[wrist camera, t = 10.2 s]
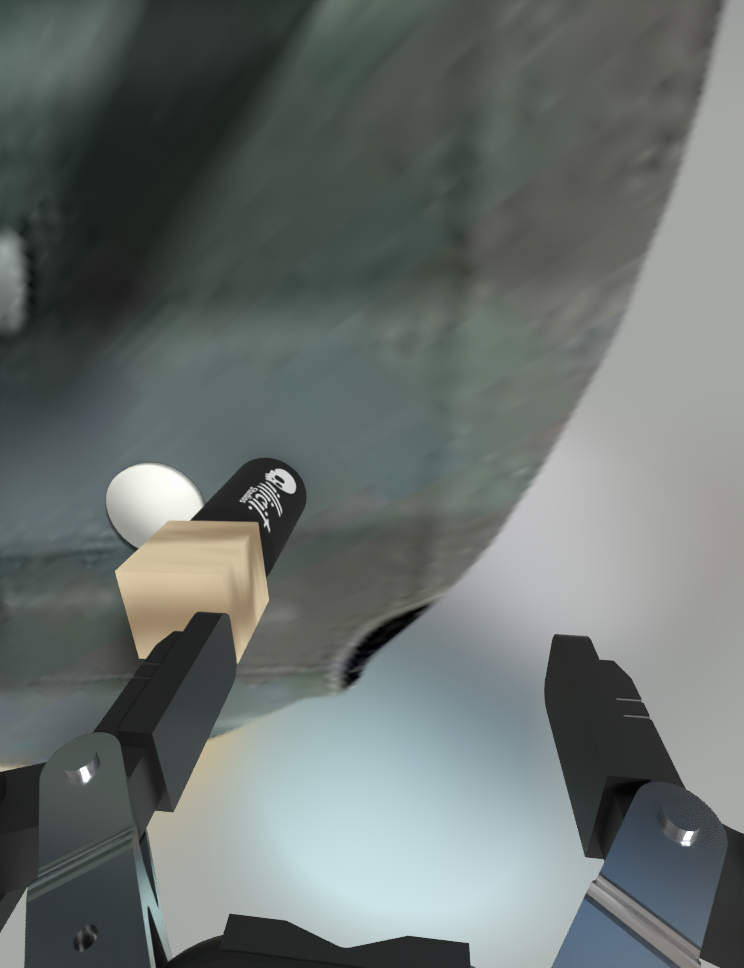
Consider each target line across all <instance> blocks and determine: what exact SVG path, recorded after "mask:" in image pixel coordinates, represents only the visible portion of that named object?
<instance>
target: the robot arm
mask: <svg viewBox="0 0 744 968" xmlns="http://www.w3.org/2000/svg"><path fill="white" fill-rule="evenodd" d="M236 669H237V658H236V652H235V645H234V639H233V633H232V626H231V620H230V617H229V615H228V614H227V613H216V612H200V611H199V612H196V613H195V614H194V616H193V617H192V618H191V620H190V621H189V623H188V624H187V626H186V627H185V629H184V630H183V631H173V632H172V633H171V634H169V635H168V636H167V637H165V638H164V639H163V640H161V641H160V642H159V643H158V644H156V645H155V647H154V648H153V650H152V651H151V652H150V654H149V655H148V656H147V658H146V659H145V661H144V664H143V665H141V666H140V668H139V669H138V670H137V672H136V673H135V675H134V678H133V679H131V680H130V682H129V683H128V684H127V686H126V687H125V689H124V690H123V691H122V693H121V694H120V696H119V697H118V698H117V700H116V701H115V703H114V704H113V705H112V707H111V708H110V710H109V711H108V712H107V714H106V715H105V717H104V718H103V719H102V721H101V722H100V724H99V725H98V726H97V728H96V729H95V730H94V732H93V733H90V734H86V735H83V736H80V737H78V738H76V739H73V740H72V741H70V742H68V743H67V744H65V745H64V746H62V747H61V748H60V749H59V750H57V751H56V752H55V753H54V754H53V755H52V756H51V757H50V759H49V760H48V761H47V762H45V763H41V764H36V765H32V766H27V767H22V768H17V769H12V770H7V771H3V772H0V932H1V930H2V929H3V927H4V925H5V924H6V922H7V920H8V918H9V917H10V915H11V913H12V912H13V910H14V908H15V907H16V904H17V903H18V902H19V900H20V898H21V897H22V895H23V893H24V891H25V890H26V888H27V887H28V890H27V899H26V928H25V962H24V968H475V967H473V966H471V965H470V952H469V943H462V942H453V941H446V940H438V939H430V938H422V937H413V936H405V937H400V938H395V939H390V940H385V941H380V942H375V943H371V944H365V945H361V946H356V947H351V948H343V947H339V946H337V945H335V944H333V943H331V942H329V941H327V940H324V939H322V938H320V937H318V936H316V935H314V934H312V933H310V932H308V931H306V930H304V929H302V928H300V927H298V926H296V925H294V924H292V923H290V922H288V921H284V920H276V919H268V918H260V917H252V916H244V915H236V914H229V917H228V921H227V924H226V927H225V930H224V934H223V935H221V936H217V937H213V938H211V939H208V940H205V941H202V942H200V943H198V944H196V945H194V946H192V947H190V948H188V949H187V950H185V951H183V952H182V953H180V954H179V955H177V956H176V957H174V958H173V957H172V953H171V948H170V944H169V940H168V937H167V932H166V928H165V924H164V919H163V914H162V908H161V904H160V897H159V892H158V887H157V881H156V875H155V870H154V864H153V859H152V853H151V848H150V843H149V837H148V832H147V829H146V827H147V825H148V823H149V821H150V819H151V817H152V815H153V813H154V811H155V810H156V811H165V812H174V810H175V808H176V806H177V803H178V801H179V799H180V797H181V795H182V793H183V791H184V789H185V786H186V784H187V782H188V780H189V778H190V775H191V773H192V771H193V769H194V767H195V765H196V763H197V761H198V758H199V756H200V754H201V752H202V750H203V747H204V746H205V743H206V741H207V739H208V737H209V735H210V733H211V731H212V728H213V726H214V724H215V722H216V720H217V718H218V715H219V713H220V711H221V709H222V707H223V705H224V703H225V700H226V698H227V696H228V694H229V692H230V690H231V688H232V685H233V683H234V679H235V675H236ZM544 692H545V693H544V694H545V705H546V710H547V714H548V718H549V722H550V726H551V729H552V733H553V737H554V741H555V744H556V748H557V752H558V756H559V760H560V763H561V767H562V771H563V775H564V779H565V782H566V786H567V790H568V794H569V798H570V801H571V805H572V809H573V813H574V817H575V820H576V824H577V828H578V831H579V835H580V839H581V843H582V847H583V851H584V854H585V857H588V858H598V859H604V864H603V866H602V868H601V871H600V873H599V875H598V877H597V879H596V880H595V881H593V882H592V883H591V885H590V887H589V888H588V890H587V892H586V894H585V897H584V899H583V901H582V903H581V905H580V907H579V909H578V912H577V914H576V916H575V918H574V920H573V922H572V924H571V927H570V929H569V931H568V933H567V935H566V937H565V939H564V942H563V944H562V946H561V948H560V950H559V952H558V954H557V957H556V959H555V961H554V963H553V965H552V967H551V968H701V963H700V961H699V958H701V959H703V960H705V961H707V962H709V963H712V964H713V965H716V966H718V967H720V968H744V834H743V833H740V832H738V831H736V830H733V829H731V828H729V827H728V826H725V825H724V824H722V823H721V821H720V820H719V818H718V817H717V815H716V814H715V813H714V812H713V810H712V809H711V808H710V807H709V806H708V805H707V804H706V803H705V802H704V801H702V800H701V799H700V798H699V797H697V796H696V795H694V794H693V793H691V792H690V791H688V790H686V788H685V786H684V785H683V783H682V781H681V779H680V777H679V775H678V773H677V771H676V769H675V767H674V765H673V762H672V760H671V758H670V757H669V754H668V753H667V750H666V748H665V746H664V744H663V742H662V740H661V738H660V736H659V734H658V732H657V730H656V728H655V726H654V724H653V722H652V720H650V718H649V713H648V711H647V709H646V707H645V705H644V703H642V702H641V697H640V695H639V693H638V691H637V689H636V687H635V685H634V683H633V681H632V679H631V678H630V677H629V676H628V675H627V674H626V673H625V672H624V671H623V670H622V669H621V668H620V667H619V666H618V665H617V664H616V663H615V662H614V661H610V660H599V657H598V655H597V653H596V651H595V648H594V646H593V644H592V641H591V639H590V638H589V637H587V636H575V635H559V634H555V635H554V637H553V639H552V644H551V650H550V656H549V662H548V667H547V673H546V678H545V687H544Z"/></svg>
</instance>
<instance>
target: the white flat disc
mask: <svg viewBox="0 0 744 968" xmlns="http://www.w3.org/2000/svg"><path fill="white" fill-rule="evenodd" d="M204 505H205V504H204V501H203V498H202V496H201V494H200V492H199V491H198V489H197V488H196V486H195V485H194V484H193V483H192V482H191V481H190V480H189V479H188V478H187V477H186V476H185V475H183V474H182V473H181V472H179V471H177V470H176V469H174V468H172V467H169V466H167V465H164V464H159V463H152V462H146V463H139V464H135V465H133V466H131V467H129V468H127V469H125V470H124V471H122V472H121V473H120V474H118V475H117V476H116V477H115V478H114V479H113V480H112V482H111V484H110V486H109V488H108V491H107V496H106V506H107V511H108V514H109V517H110V519H111V521H112V523H113V525H114V527H115V528H116V530H117V531H118V532H119V533H120V534H121V535H122V537H123V538H125V539H126V540H127V541H128V542H129V543H131V544H132V545H134V546H135V547H137V548H140V547H141V546H142V545H143V544H144V543H145V542H146V541H148V540H149V539H150V538H151V537H152V536H153V535H154V534H155V533H156V532H157V531H158V530H159V529H160V528H161V527H162V526H163V525H164V524H165V523H166V522H168V521H169V520H179V521H190V520H191V519H192V518H193V517H194V516H195V514H196V513H197V512H198V511H199V510H200V509H201V508H202V507H203V506H204Z"/></svg>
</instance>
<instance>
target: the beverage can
mask: <svg viewBox="0 0 744 968" xmlns="http://www.w3.org/2000/svg"><path fill="white" fill-rule="evenodd" d="M305 504H306V490H305V486H304V483H303V481H302V479H301V478H300V476H299V475H298V473H297V472H296V471H295V470H294V469H293V468H291V467H290V466H289V465H287V464H286V463H284V462H282V461H279V460H276V459H271V458H259V459H255V460H252V461H249V462H248V463H246V464H244V465H243V466H242V467H241V468H240V469H239V470H238V471H237V472H236V473H235V474H234V475H233V476H232V477H231V478H230V479H229V480H228V481H227V482H226V483H225V485H224V486H223V487H222V488H221V489H220V490H219V491H218V492H217V493H216V494H215V495H214V496H213V497H212V498H211V499H210V500H209V501H208V502H207V503H206V504H205V505H204V506H203V507H202V508H201V509H200V510H199V511H198V512H197V513H196V514H195V516H194V517H193V518H192V519H191V520H190V521H229V522H258V524H259V532H260V539H261V546H262V553H263V561H264V568H265V575H266V577H267V576H268V575H269V574H270V572H271V570H272V568H273V566H274V565H275V563H276V561H277V559H278V557H279V555H280V553H281V551H282V549H283V548H284V546H285V544H286V542H287V540H288V538H289V536H290V534H291V532H292V531H293V529H294V527H295V525H296V523H297V521H298V519H299V517H300V515H301V514H302V512H303V510H304V507H305Z"/></svg>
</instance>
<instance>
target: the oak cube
mask: <svg viewBox="0 0 744 968" xmlns="http://www.w3.org/2000/svg"><path fill="white" fill-rule="evenodd" d="M115 573H116V577H117V580H118V584H119V587H120V591H121V595H122V598H123V602H124V605H125V609H126V613H127V616H128V620H129V623H130V627H131V631H132V634H133V638H134V641H135V645H136V649H137V652H138V656H139V659H146V658H147V656H148V655H149V654H150V652H151V651H152V650H153V648H154V647H155V645H156V644H158V643H159V642H160V641H161V640H163V639H164V638H165V637H167V636H168V635H169V634H171V633H172V632H173V631H183V630H184V629H185V627H186V626H187V624H188V623H189V621H190V620H191V618H192V617H193V616H194V614H195V613H196V612H199V611H200V612H216V613H227V614H228V615H229V617H230V620H231V626H232V633H233V639H234V645H235V652H236V658H237V664H238V662H239V660H240V658H241V656H242V654H243V652H244V650H245V648H246V646H247V644H248V642H249V640H250V638H251V636H252V634H253V632H254V630H255V628H256V626H257V624H258V622H259V620H260V618H261V616H262V613H263V611H264V609H265V607H266V605H267V603H268V601H269V597H268V589H267V582H266V575H265V568H264V561H263V553H262V546H261V539H260V532H259V524H258V522H229V521H179V520H169V521H168V522H166V523H165V524H164V525H163V526H162V527H161V528H160V529H159V530H158V531H157V532H156V533H155V534H154V535H153V536H152V537H151V538H150V539H149V540H148V541H146V542H145V543H144V544H143V545H142V546H141V547H140V548H139V549H138V550H137V551H136V552H135V553H134V554H133V555H132V556H131V557H130V558H129V559H127V560H126V561H125V562H124V563H123V564H122V565H121V566H120V567H119V568H118V569H117V570H116V571H115Z"/></svg>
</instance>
